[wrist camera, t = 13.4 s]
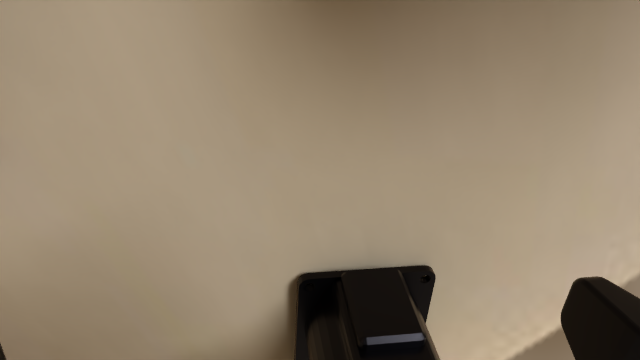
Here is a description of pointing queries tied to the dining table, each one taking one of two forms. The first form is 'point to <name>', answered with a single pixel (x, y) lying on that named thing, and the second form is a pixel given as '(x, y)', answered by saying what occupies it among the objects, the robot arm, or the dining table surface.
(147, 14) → the dining table surface
